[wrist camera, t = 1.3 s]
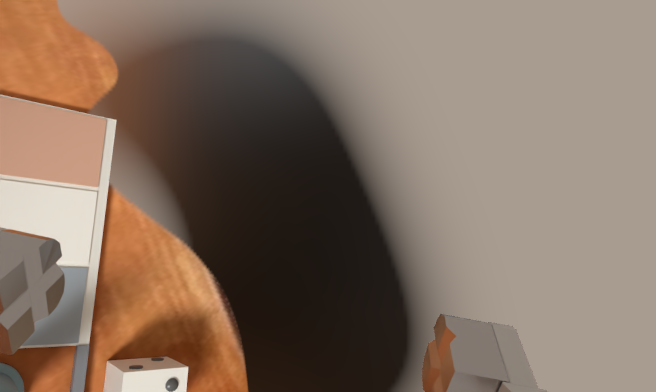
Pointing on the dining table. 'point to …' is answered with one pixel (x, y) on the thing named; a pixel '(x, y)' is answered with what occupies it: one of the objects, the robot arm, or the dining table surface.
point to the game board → (59, 206)
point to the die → (145, 375)
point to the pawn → (10, 379)
